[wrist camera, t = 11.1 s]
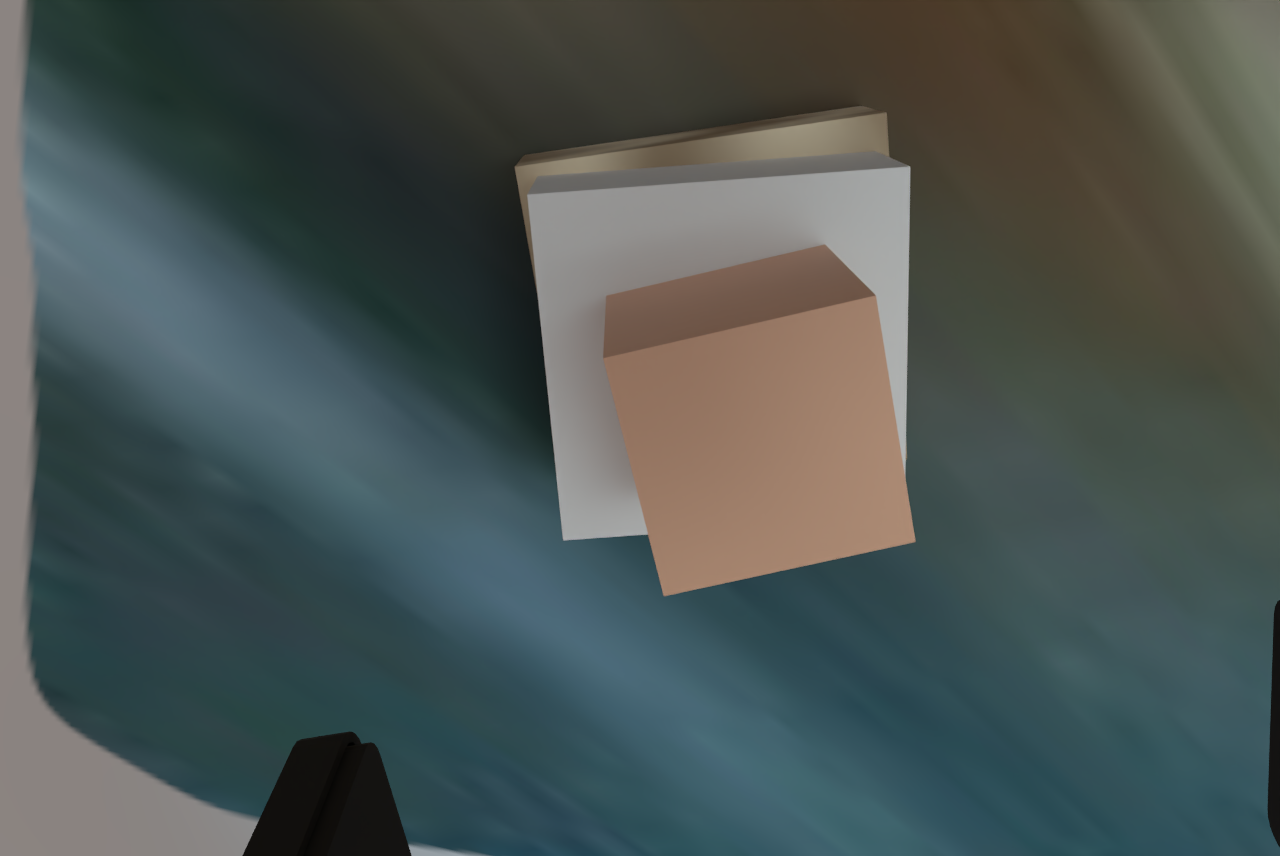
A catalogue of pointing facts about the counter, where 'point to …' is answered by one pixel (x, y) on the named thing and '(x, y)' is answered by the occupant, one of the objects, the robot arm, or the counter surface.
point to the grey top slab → (684, 246)
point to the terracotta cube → (757, 418)
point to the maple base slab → (715, 147)
